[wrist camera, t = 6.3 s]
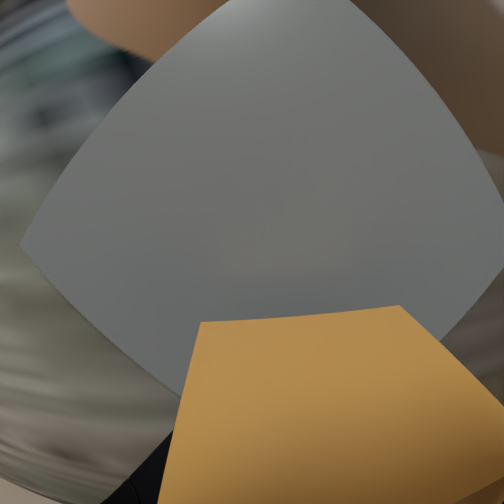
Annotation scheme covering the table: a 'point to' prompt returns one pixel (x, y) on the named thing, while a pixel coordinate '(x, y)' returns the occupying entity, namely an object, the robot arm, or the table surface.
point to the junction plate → (269, 188)
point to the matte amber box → (332, 416)
